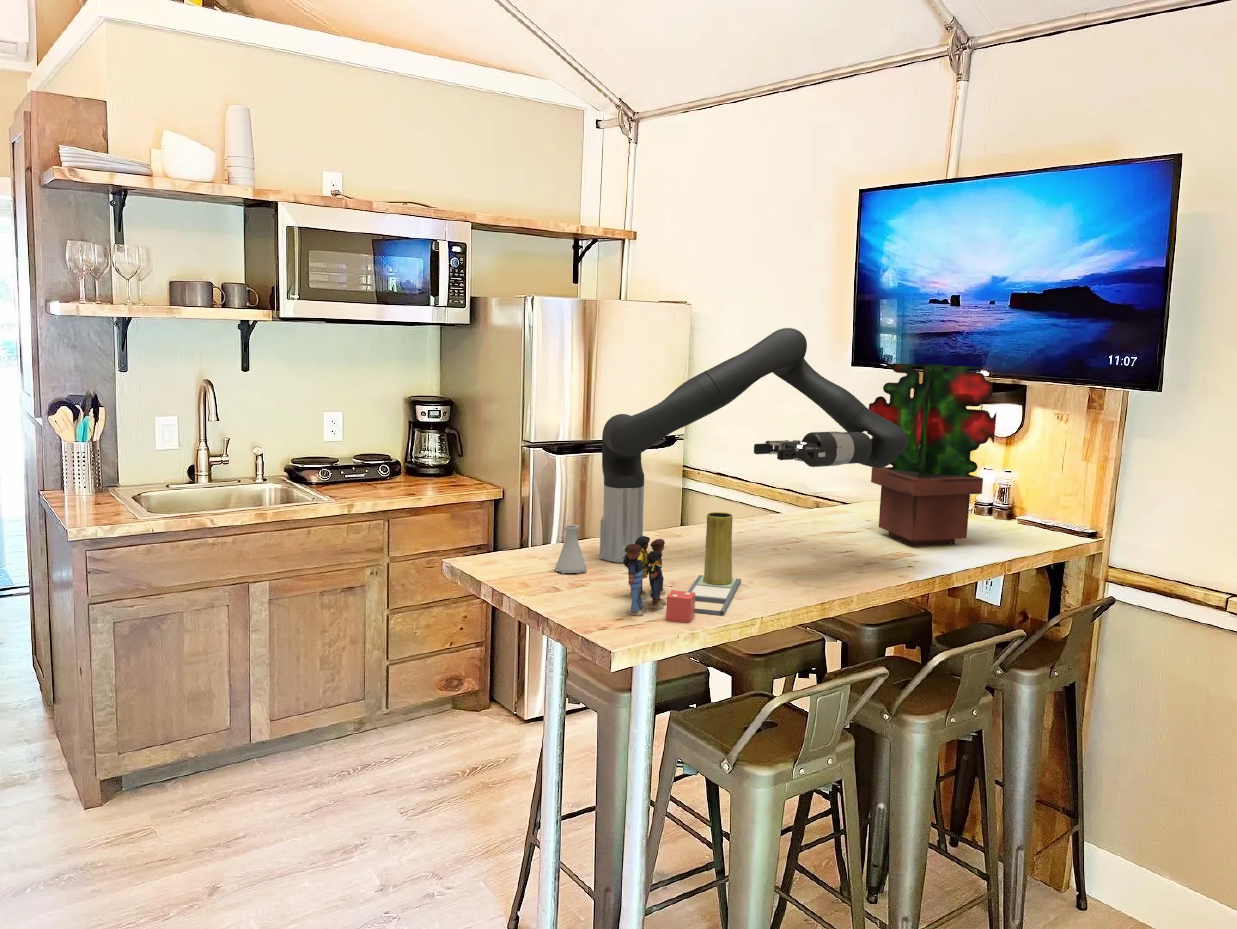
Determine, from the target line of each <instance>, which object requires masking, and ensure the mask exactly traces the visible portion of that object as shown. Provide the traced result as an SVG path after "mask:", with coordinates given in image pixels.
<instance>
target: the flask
mask: <svg viewBox="0 0 1237 929" xmlns="http://www.w3.org/2000/svg"><path fill="white" fill-rule="evenodd" d="M579 527H580V526H579V525H578V524H577V525H576V524H567V525H566V524H565V525H564V527H563V529H564V530H565V532H564V533H565V535H564V541H563V545H562V548H561V551H560V554H559V556H558V559H557V562H556V564H555V566H554V571H555V570H558V571H559V572H561V573H560V574H565V573H577V574H582V572H583V573H587V570H586V568H587V565H586V563H585V560H584V557H583V553H582V550H581V547H580V545H579V539H578V538H579V537H578V530H579ZM559 572H558V573H559Z"/></svg>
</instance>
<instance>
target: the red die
mask: <svg viewBox="0 0 1237 929" xmlns="http://www.w3.org/2000/svg"><path fill="white" fill-rule="evenodd" d="M695 608H696V601H695V592H688V591H683V590H671V591H670V592H669V593H668V595H667V596H666V610H665V612H666V613H665V620H666V621H671V622H680V623H688V622H690V623H691V622H692V620H693V619H694V617H695V614H696V613H695Z"/></svg>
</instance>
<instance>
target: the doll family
mask: <svg viewBox="0 0 1237 929" xmlns="http://www.w3.org/2000/svg"><path fill="white" fill-rule="evenodd" d="M650 540H651V538H650V537H649V536H646V535H643V536H641V537H639V538H638V539H637V540H636V542H635V544H630V545H628V546H626V548H625V547H623V549H625V552H627V554H626V555H625V556H624V557H625V558H624V557H623V558H624V560H623V563H622V564H623V565H624V568H626V569H627V571H628V572H627V574H628V575H627V576H628V585H629V587H630V597H631V603H630V604H631V606H630V611H629V612H628V615H632V616H638V617H639V616H643V615H644V612H646V611H647V610H646V608H645V606H644V603H643V600H646V598H647V593H646V592H645V591H644V589H643V580H644V579H646V578H648V581H649V585H650V591H651V593H650V594H649V595H650V596H649V598H650V599H652V600H651V602H652V603H650V604H649V608H650V609H656V610H662V609H664V605H665V604H666V605H667V600H666V599H664V598H661V596H664V595H666V591H665V590H664V576H663V572H662V571H663V570H662V568H663V567H665V566H664V565H663V559H662V557H663V551H664V549H665V544H666V543H665V540H664V539H663V538H657V539H655V540H652V541H651V542H650ZM649 543H650V545H649ZM648 547H650V548H651V549H652V550H651V551H649V552H648V550H647V549H648ZM623 558H622V559H623Z"/></svg>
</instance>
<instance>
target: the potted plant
mask: <svg viewBox="0 0 1237 929" xmlns="http://www.w3.org/2000/svg"><path fill="white" fill-rule="evenodd" d="M914 367H922V379H921V380H922V382H921V383H920V376H921V375H920V372H919V370H917V369H914ZM891 368H892V371H893V372H894V373H897V374H898V373H899V374H906V375H904V376H902V377H900V378H899V380H898V382H886V383H884V385H883V386H882V389H883V392H884V393H886V394H889V402H888V401H887V399H886V397H884V396H877V397H876V398H875V399H874V401H873V402H870V403H868V409H869V410H870V411H872V412H873V413H875V414H877V415H879V416H881V417H883V418H885V419H887V420H889V421H891V422H893V423H894V424H896V425H898V426H899V427H900V428H902V429H903V431H904V432H905V433H906V435H907V438H908V445H907V447H906V448H905V450H904V451H903V452H902V453H901V454H900V455H899V456H898V457H897V458H896V459H895V460H894V461H893V462H892V463H891V464H889V466H886V467H882V468H873V467H871V478H870V483H873V484H875V485H878V486H881V488H880V502H879V514H878V515H879V516H878V528H880V529H882V530H883V531H884V530H885V531H887V532H888V537H890V538H893V539H896V540H897V541H901V542H902V543H904V544H908V545H910V546H912V547H927V546H945V545H946V546H950V545H955V541H956V540H957V539H960V540H961V539H967V536H968V533H967V532H968V522H969V510H970V500H971V498H970V497H971V495H979V494H980V495H982V494H983V484H984V478H983V477H980V476H976V475H972V474H970V473H974V472H976V471H977V469H978V464H977V463H976V462H975V461H973V460H971V452H973V451H977V450H978V449H979V447H980V446H981V445H984V444H986V443H987V442H988V440H989V439H991V442H992V443H993V444H994V443H995V436H996V435H995V433H996V424H997V412H995V413H994V415H993V416H992V417H991V415H990V414H991V413H990V412H989V411H987V410H985V409H976V408H975V409H973V408H972V409H971V408H967V407H980V406H981V405H982V404H983V402H984V401H985V400H989V399H990V398H991V397H992V395H993V388H994V386H993V382H991V381H990V380H987V379H986V377H985V375H984V374H983V373H982V372H978V371H976V372H975V371H970V370H982V369H984V366H963V365H944V363H938V364H921V363H920V364H917V363H916V364H915V363H896V362H894V363H893V362H892V363H891ZM945 369H946V370H945ZM912 389H913V396H912V397H911V392H912V391H911V390H912ZM866 434H867V435H868V436H870V437H871V438H872V437H873V436H874V435H873V434H871V433H869V432H866Z"/></svg>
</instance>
